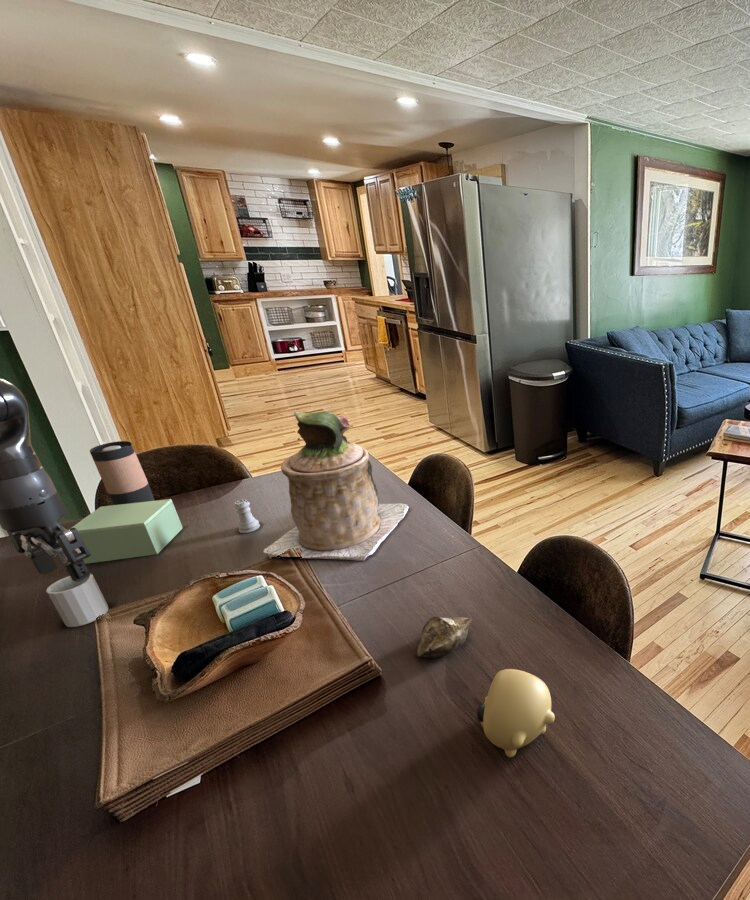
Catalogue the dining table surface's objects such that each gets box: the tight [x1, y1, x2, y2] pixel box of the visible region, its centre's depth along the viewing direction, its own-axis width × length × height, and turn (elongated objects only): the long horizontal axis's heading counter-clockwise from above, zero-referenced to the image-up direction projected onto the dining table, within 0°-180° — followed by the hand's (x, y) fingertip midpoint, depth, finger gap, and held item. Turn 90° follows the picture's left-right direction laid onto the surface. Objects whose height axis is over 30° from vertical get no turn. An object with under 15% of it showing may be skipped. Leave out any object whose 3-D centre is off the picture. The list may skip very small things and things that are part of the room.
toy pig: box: [476, 668, 556, 758], centre depth 67 cm, size 10×12×11 cm
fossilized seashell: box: [416, 616, 473, 659], centre depth 83 cm, size 8×7×10 cm
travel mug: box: [89, 440, 156, 505], centre depth 120 cm, size 8×8×20 cm
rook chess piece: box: [233, 498, 261, 534], centre depth 117 cm, size 4×4×8 cm
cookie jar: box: [263, 410, 410, 562], centre depth 111 cm, size 25×25×32 cm
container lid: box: [71, 498, 173, 534], centre depth 109 cm, size 14×12×1 cm
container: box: [78, 501, 184, 565], centre depth 110 cm, size 14×12×8 cm
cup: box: [45, 573, 110, 628], centre depth 89 cm, size 6×6×8 cm
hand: (65, 575), depth 86 cm, fingers open, 8 cm apart
